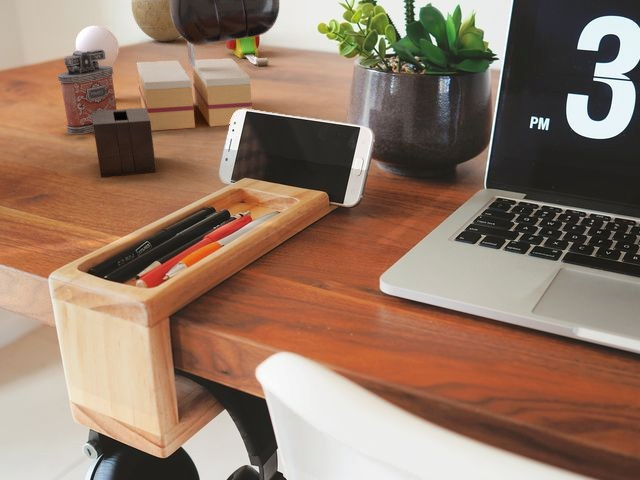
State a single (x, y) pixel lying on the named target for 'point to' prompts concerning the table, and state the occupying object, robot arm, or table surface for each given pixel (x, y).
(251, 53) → the toy measuring tape
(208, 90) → the cake
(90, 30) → the lightbulb
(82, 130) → the lighter
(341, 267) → the table surface
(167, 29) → the fossilized egg
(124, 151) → the knife block
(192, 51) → the knife
